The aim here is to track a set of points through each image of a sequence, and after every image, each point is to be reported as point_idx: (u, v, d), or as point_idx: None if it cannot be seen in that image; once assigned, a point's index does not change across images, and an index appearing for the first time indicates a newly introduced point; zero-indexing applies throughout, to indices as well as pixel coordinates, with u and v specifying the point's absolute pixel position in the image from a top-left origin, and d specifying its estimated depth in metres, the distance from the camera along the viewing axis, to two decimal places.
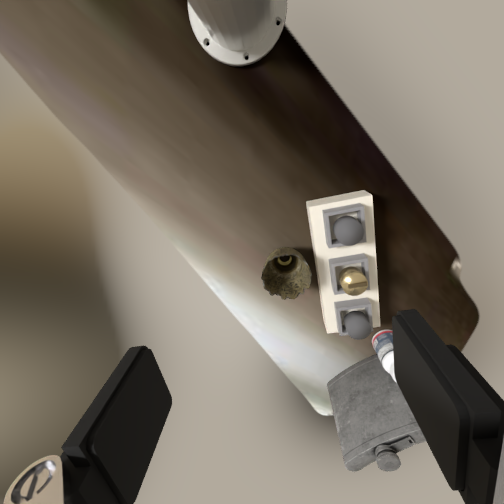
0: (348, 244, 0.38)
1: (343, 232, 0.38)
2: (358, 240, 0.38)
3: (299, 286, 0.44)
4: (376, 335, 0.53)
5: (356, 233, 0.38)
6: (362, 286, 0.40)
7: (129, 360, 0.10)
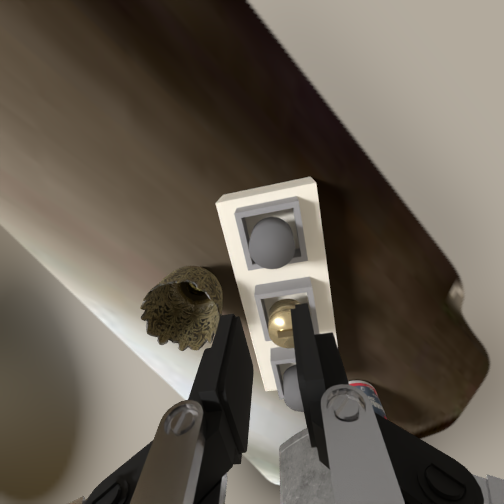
0: (270, 266, 0.22)
1: (260, 246, 0.22)
2: (287, 260, 0.22)
3: (211, 327, 0.28)
4: None
5: (282, 248, 0.22)
6: None
7: (226, 325, 0.11)
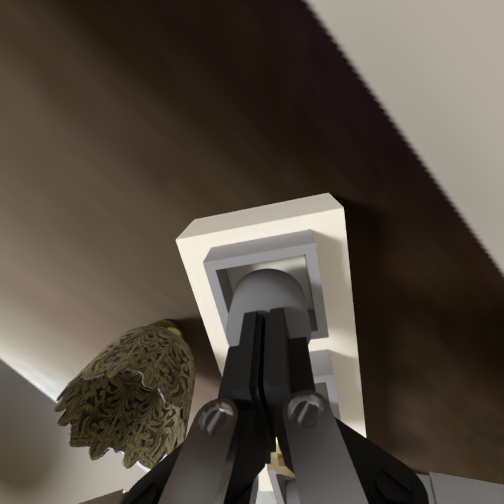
0: None
1: None
2: None
3: (175, 424, 0.18)
4: None
5: None
6: None
7: (251, 322, 0.10)
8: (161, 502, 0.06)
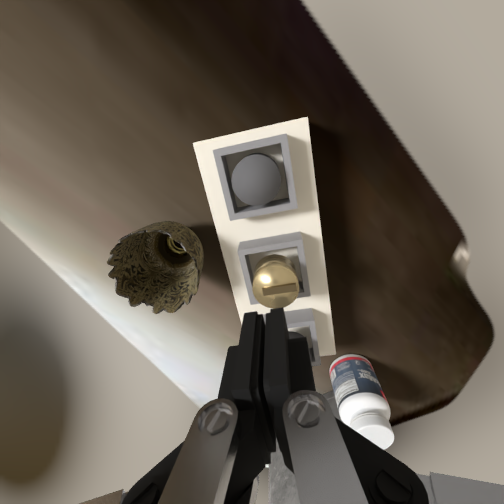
0: (255, 203, 0.21)
1: (243, 179, 0.20)
2: (272, 195, 0.21)
3: (190, 289, 0.25)
4: (335, 363, 0.34)
5: (267, 181, 0.20)
6: (288, 291, 0.21)
7: (251, 322, 0.10)
8: (161, 502, 0.06)
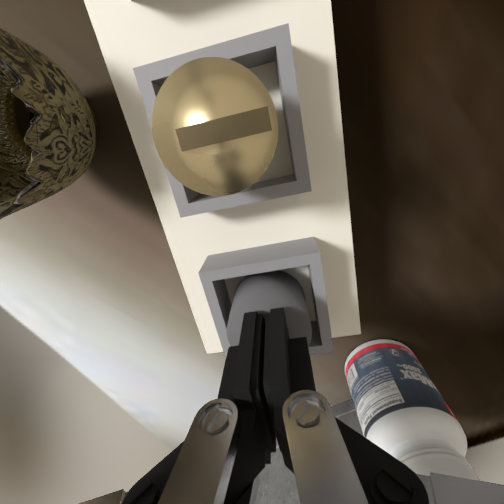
0: None
1: None
2: None
3: None
4: (354, 354, 0.20)
5: None
6: (249, 135, 0.08)
7: (251, 322, 0.10)
8: (161, 502, 0.06)
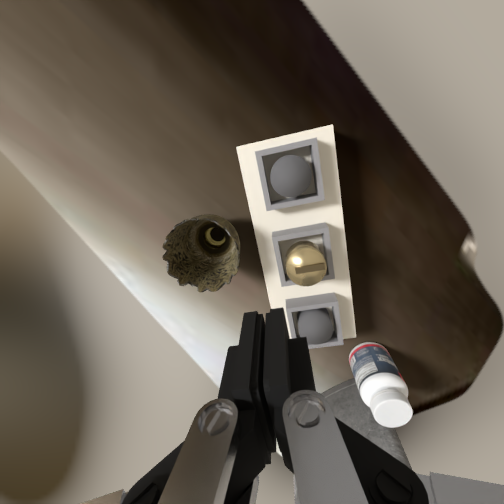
0: (289, 195, 0.25)
1: (280, 175, 0.24)
2: (304, 188, 0.25)
3: (228, 272, 0.29)
4: (354, 350, 0.37)
5: (300, 176, 0.24)
6: (317, 270, 0.25)
7: (251, 322, 0.10)
8: (161, 502, 0.06)
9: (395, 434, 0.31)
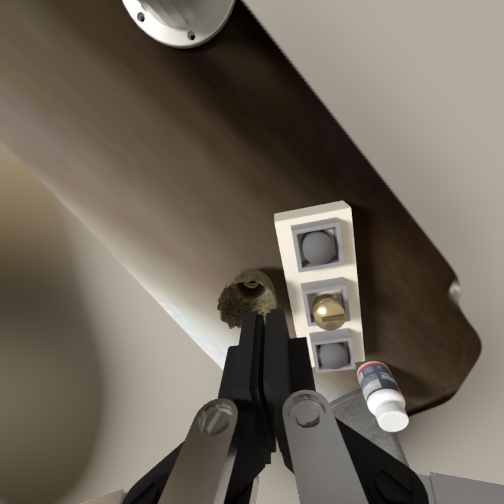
0: (317, 262, 0.33)
1: (311, 249, 0.32)
2: (329, 258, 0.32)
3: None
4: (361, 367, 0.45)
5: (326, 250, 0.32)
6: (339, 320, 0.33)
7: (251, 322, 0.10)
8: (161, 502, 0.06)
9: (395, 436, 0.40)
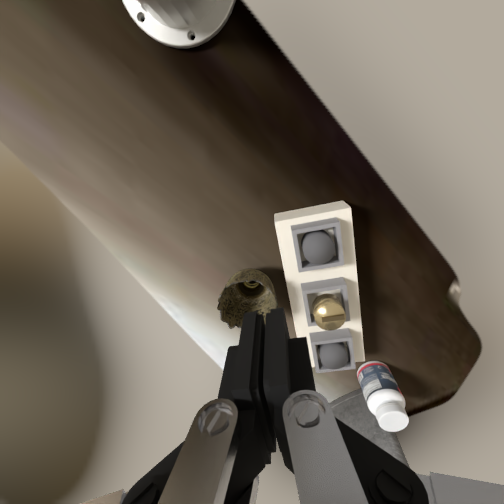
0: (317, 262, 0.33)
1: (311, 249, 0.32)
2: (329, 258, 0.32)
3: None
4: (362, 367, 0.45)
5: (326, 250, 0.32)
6: (339, 320, 0.33)
7: (251, 322, 0.10)
8: (161, 502, 0.06)
9: (395, 436, 0.40)
